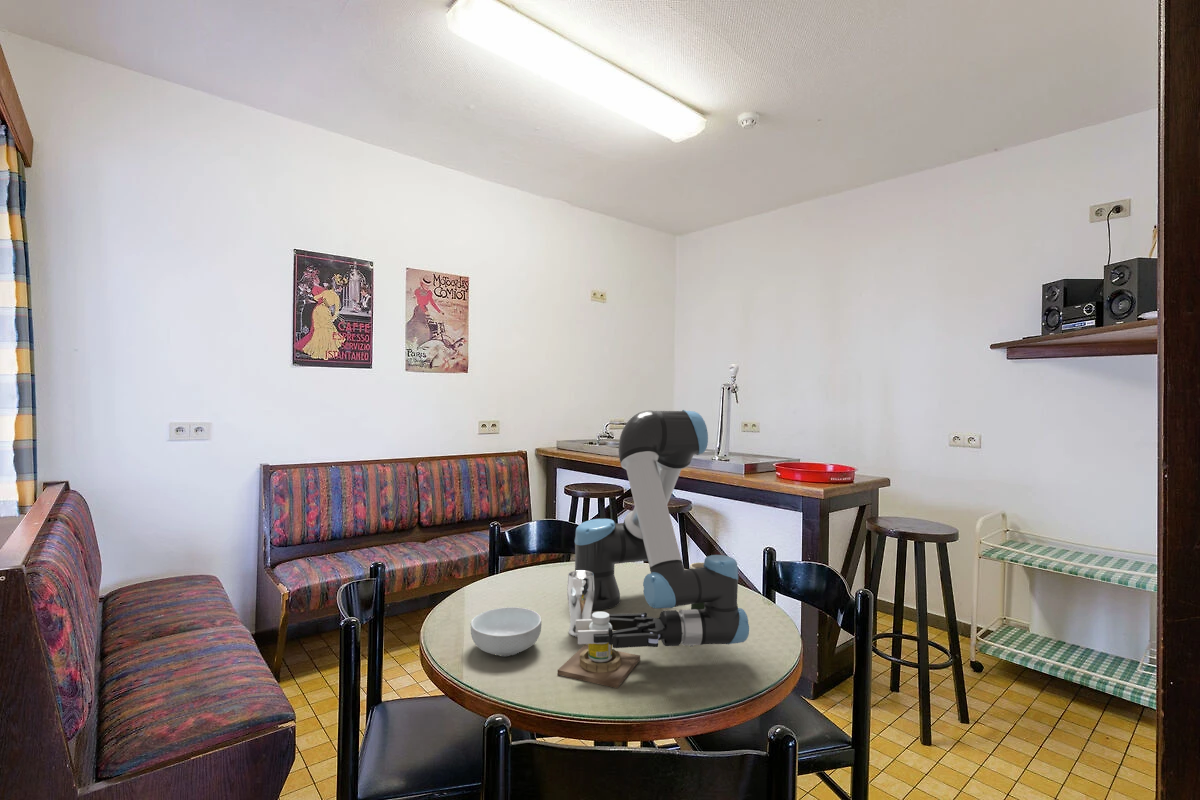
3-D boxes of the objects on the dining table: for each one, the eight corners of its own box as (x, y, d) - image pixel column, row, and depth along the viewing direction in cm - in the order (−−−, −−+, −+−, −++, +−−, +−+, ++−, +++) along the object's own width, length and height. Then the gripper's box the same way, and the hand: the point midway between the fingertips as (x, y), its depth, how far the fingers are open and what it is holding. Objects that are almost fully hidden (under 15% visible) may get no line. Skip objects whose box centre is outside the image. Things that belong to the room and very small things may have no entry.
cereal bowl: (464, 640, 141) (464, 612, 140) (529, 630, 147) (530, 602, 147) (478, 671, 125) (478, 639, 125) (550, 658, 132) (550, 627, 131)
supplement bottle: (601, 665, 123) (601, 621, 123) (583, 658, 127) (583, 615, 127) (617, 657, 128) (617, 614, 128) (598, 650, 131) (599, 608, 131)
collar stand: (557, 674, 124) (557, 663, 124) (584, 648, 137) (585, 638, 137) (617, 688, 118) (617, 676, 118) (640, 659, 131) (640, 649, 131)
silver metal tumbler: (573, 640, 141) (574, 579, 141) (562, 629, 147) (563, 572, 147) (598, 635, 144) (599, 575, 144) (586, 625, 151) (587, 568, 150)
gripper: (689, 663, 120) (579, 668, 118) (669, 627, 138) (574, 631, 136) (690, 627, 120) (580, 631, 118) (669, 597, 138) (574, 600, 136)
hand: (577, 631), depth 127 cm, fingers closed on supplement bottle, 5 cm apart
